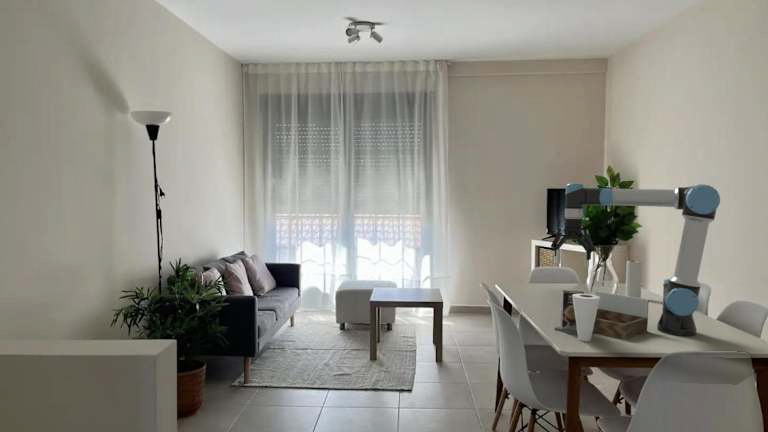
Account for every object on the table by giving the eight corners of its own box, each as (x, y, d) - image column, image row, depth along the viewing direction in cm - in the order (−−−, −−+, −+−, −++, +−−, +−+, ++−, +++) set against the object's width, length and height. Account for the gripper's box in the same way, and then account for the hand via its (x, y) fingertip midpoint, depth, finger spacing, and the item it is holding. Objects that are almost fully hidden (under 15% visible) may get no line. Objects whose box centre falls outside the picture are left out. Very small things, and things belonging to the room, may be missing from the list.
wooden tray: (647, 331, 235) (647, 317, 235) (624, 339, 222) (625, 324, 221) (595, 320, 253) (596, 307, 253) (571, 327, 240) (572, 313, 240)
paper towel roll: (622, 296, 313) (624, 260, 312) (631, 296, 315) (632, 260, 314) (632, 299, 307) (633, 262, 306) (640, 298, 308) (642, 261, 307)
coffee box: (561, 329, 232) (563, 292, 231) (560, 325, 238) (561, 289, 237) (584, 331, 230) (585, 293, 229) (581, 327, 236) (583, 290, 235)
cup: (566, 339, 220) (567, 295, 219) (578, 334, 227) (579, 292, 226) (591, 344, 212) (593, 299, 211) (602, 339, 220) (604, 296, 219)
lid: (647, 317, 235) (648, 299, 234) (647, 317, 234) (647, 299, 234) (596, 307, 253) (596, 291, 253) (595, 308, 253) (595, 291, 252)
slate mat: (587, 331, 234) (587, 328, 233) (575, 334, 227) (575, 332, 227) (567, 326, 241) (567, 324, 241) (554, 329, 235) (554, 327, 235)
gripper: (604, 219, 232) (603, 267, 233) (552, 216, 251) (551, 261, 252) (596, 219, 227) (594, 269, 228) (544, 217, 246) (542, 263, 247)
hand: (572, 265), depth 240 cm, fingers open, 13 cm apart
